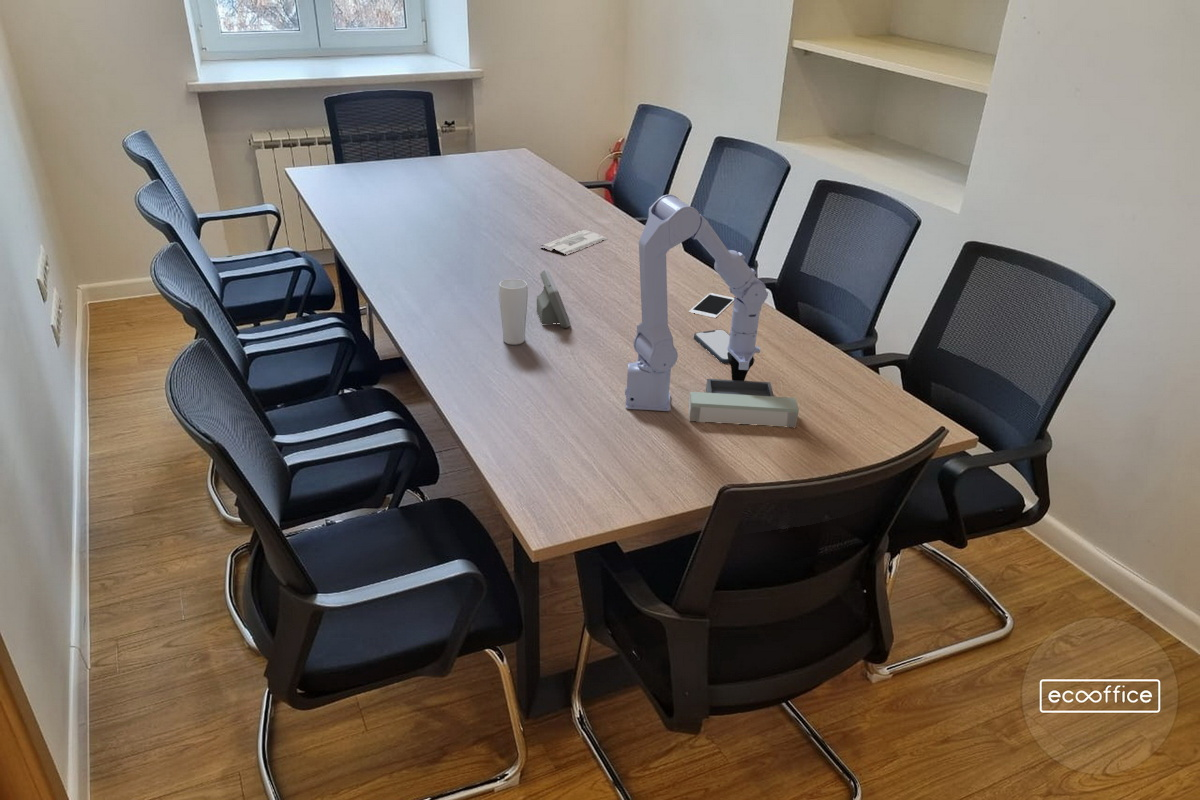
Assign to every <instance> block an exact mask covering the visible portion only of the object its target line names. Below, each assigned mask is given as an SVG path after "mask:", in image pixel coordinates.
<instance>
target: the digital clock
mask: <svg viewBox="0 0 1200 800" xmlns="http://www.w3.org/2000/svg"><path fill="white" fill-rule="evenodd" d="M539 276H540V279H541V281H542V284H543V290H542V291H541V293H539V294H538V295H537V297H536V313H537V315H539V316H538V318H540V319H539V320H540V321H539V322H540V323H542V324H553V323H556V325H558V324H557V323H560V324H559V325H560V327H561V328H563V329H566V328H569V327H570V325H571V321H570V317H569V316H568V315H569V314H568V313H567V310H566V308H565V305H564V302H563V300H562V298H561V295H560V293H559V290H558V288H557V286H556V283H555V282H554V279H553V276H552V275H551V274H550V271H549V270H542V271H541V273H539ZM542 324H541V325H542Z"/></svg>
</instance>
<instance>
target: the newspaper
mask: <svg viewBox="0 0 1200 800" xmlns="http://www.w3.org/2000/svg"><path fill="white" fill-rule="evenodd" d="M572 233H573V232H572ZM569 234H570V235H568V234H567V235H568V236H566V235H564V236H565V237H564V236H561V237H562V238H561V237H559V238H557V239H555V240H552V241H550V242H547V243H545V244H542V245H540V246H547V247H550V248H553V249H555V250H556V251H558V252H559V253H562V254H564V255H565V253H568V252H572V251H575V250H578V249H580V248H583V247H586V246H588V245H591V244H594V243H597V242H600V241H602V240H605V241H607V240H608V238H607V237H605V235H601V234H599V233H597V232H595V231H594V232H593V231H590V230H586V229H582V230H579V231H578V232H576V233H573V234H571V233H569ZM606 239H607V240H606ZM602 242H603V241H602ZM600 243H601V242H600ZM597 244H598V243H597ZM555 250H554V251H555Z"/></svg>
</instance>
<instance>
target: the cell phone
mask: <svg viewBox="0 0 1200 800" xmlns="http://www.w3.org/2000/svg"><path fill="white" fill-rule="evenodd" d="M733 303H734V297H732V296H726V295H723V294H717V293H712V292H709V293H708V294H707V295H706V296H704V297H703V298H702V299H701V300H700V301H698V303H696V304H695V305H694V306H693V307H692V308H691V309H689V310H688V313H689V312H691V313H690V314H693V313H695V314H694V315H697V314H699V316H702V315H703V316H702V317H706V316H707V318H711V319H716V317H717V318H718V317H719V316H720V315H722V313H723V312H724V311H725V310H726V309H728V307H730V305H732V304H733Z"/></svg>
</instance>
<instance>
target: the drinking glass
mask: <svg viewBox="0 0 1200 800" xmlns="http://www.w3.org/2000/svg"><path fill="white" fill-rule="evenodd" d="M528 293H529V291H528V282H526V280H523V279H519V278H508V279H503V280H501V281H500V282H499V285H498V296H499V297H498V301H499V309H500V319H501V325H502V339H503V342H504V343H505V344H507V345H512V346H517V345H521V344H523V343H524V342H525V340H526V326H527V325H526V323H527V314H528V313H527V311H528V302H529V301H528V297H529V296H528V295H529V294H528Z"/></svg>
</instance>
